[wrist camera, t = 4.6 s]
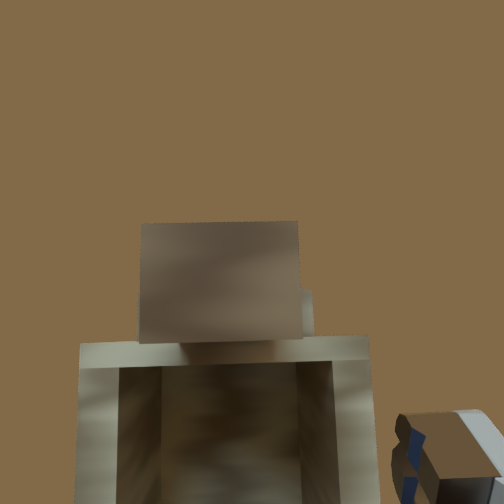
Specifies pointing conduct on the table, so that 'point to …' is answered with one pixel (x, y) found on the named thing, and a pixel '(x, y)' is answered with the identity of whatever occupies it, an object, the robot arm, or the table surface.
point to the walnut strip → (219, 282)
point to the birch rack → (227, 421)
